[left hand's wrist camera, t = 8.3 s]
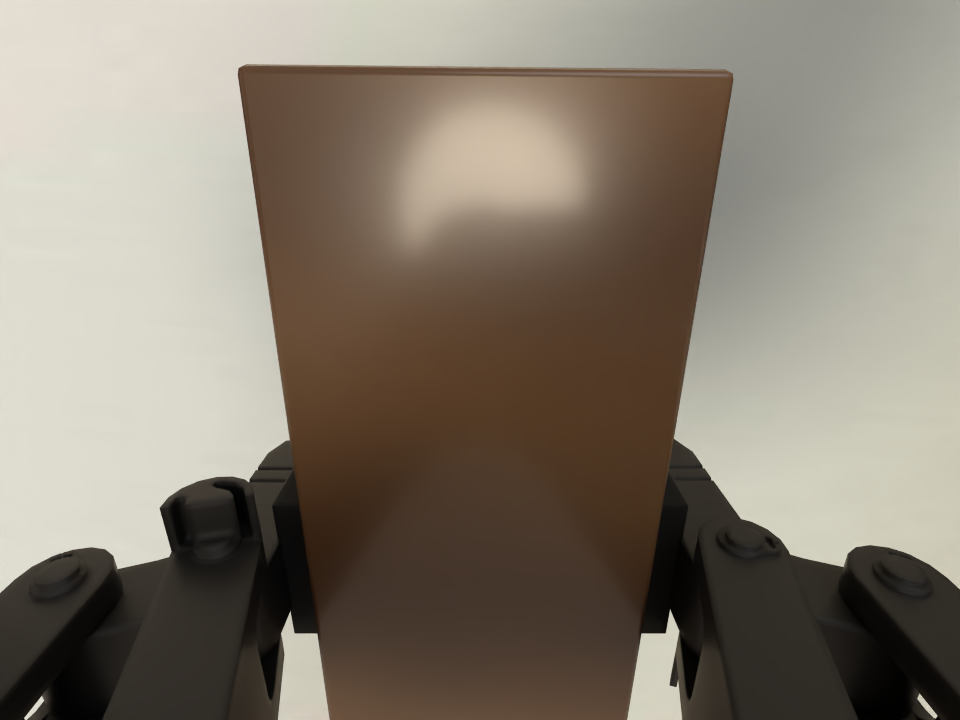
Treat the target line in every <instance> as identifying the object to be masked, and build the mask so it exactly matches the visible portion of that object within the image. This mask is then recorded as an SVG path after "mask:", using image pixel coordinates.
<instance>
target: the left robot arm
mask: <svg viewBox="0 0 960 720" xmlns="http://www.w3.org/2000/svg"><path fill="white" fill-rule="evenodd" d="M160 511H161V515H162V518H163V522H164V525H165V529H166V533H167V536H168V540H169V544H170V547H171V551H172V552H171V555H170V557H168V558H165V559H161V560H158V561H153V562H149V563H144V564H139V565H135V566H130V567H126V568H121V569H117V566H116V563H115V560H114V557H113V555H111V554H110V553H109V552H108V551H106V550H105V549H98V548H83V549H76V550H71V551H68V552H64V553H62V554H58V555H55V556H53V557H50V558H49V559H47V560H45V561H43V562H41V563H39V564H37V565H35V566H33V567H31V568H30V569H29V570H27V571H26V572H25V573H23V574H22V575H21V576H19V577H18V578H16V579H15V580H14V581H13V582H12V583H11V584H10V585H9V586H8V587H6V588H5V589H4V590H3V591H2V592H1V593H0V720H25V719H24V717H25V716H26V715H27V714H28V712H29V711H30V710H31V709H32V707H33V706H34V705H35V704H36V702H37V701H38V700H39V698H40V697H41V696H42V697H43V699H44V702H43V703H42V704H41V706H40V707H39V708H38V709H37V711H36V712H35V713H34V714H33V715H32V716H31V717H30V718H28V719H27V720H278V712H279V702H280V692H281V682H282V672H283V662H284V648H283V642H282V637H281V632H282V630H283V627H284V625H285V622H286V620H287V618H288V615H289V613H290V610H291V616H292V621H293V627H294V632H295V633H317V626H316V619H315V612H314V605H313V598H312V591H311V584H310V577H309V570H308V563H307V556H306V549H305V542H304V535H303V528H302V521H301V514H300V507H299V500H298V493H297V486H296V479H295V472H294V465H293V458H292V451H291V444H290V441H285V442H284V443H282V444H281V445H280V446H278V447H277V448H275V449H274V450H272V451H271V452H269V453H268V454H267V456H266V457H265V459H264V460H263V461H262V463H261V464H260V466H259V467H258V470H256V471H255V473H254V474H253V475H252V477H251V478H250V482H247V481H246V480H244V479H240V478H236V477H215V478H211V479H206V480H202V481H198V482H196V483H193V484H191V485H189V486H186V487H184V488H182V489H180V490H179V491H177V492H176V493H174V494H173V495H171V496H170V497H168V499H167V500H166V501H165V502H164V503H163V505H162V506H161V507H160ZM670 610H671V612H672V614H673V617H674V619H675V622H676V624H677V626H678V629H679V631H680V632H679V637H678V642H677V647H676V652H675V658H674V663H673V668H672V673H671V679H670V686H674V687H677V682H678V681H679V691H680V700H681V710H682V720H960V589H959V588H957V587H956V586H955V585H954V584H953V583H952V582H951V581H950V580H949V579H948V578H947V577H945V576H944V575H943V574H941V573H940V572H939V571H937V570H936V569H934V568H933V567H932V566H930V565H929V564H927V563H925V562H923V561H921V560H919V559H917V558H915V557H913V556H911V555H909V554H907V553H904V552H901V551H898V550H894V549H891V548H887V547H879V546H871V545H869V546H862V547H856V548H854V549H853V550H852V551H851V552H850V553H848V555H847V558H846V561H845V564H844V567H840V566H835V565H831V564H826V563H822V562H817V561H812V560H808V559H803V558H800V557H796V556H793V555H790V554H789V551H788V550H787V548H786V547H785V545H784V544H783V543H782V541H781V540H780V539H779V538H778V537H776V536H775V535H774V534H773V533H771V532H770V531H769V530H767V529H765V528H763V527H761V526H759V525H757V524H755V523H753V522H750V521H746V520H742V519H740V517H739V516H738V514H737V513H736V512H735V510H734V509H733V508H732V506H731V505H730V503H729V502H728V501H727V499H726V498H725V496H724V495H723V494H722V492H721V491H720V489H719V488H718V487H717V485H716V484H715V483H714V481H711V477H710V476H709V474H708V473H707V471H706V470H705V469H703V468H702V464H701V463H700V462H699V460H698V459H697V457H696V456H695V455H694V453H693V452H692V451H691V450H689V449H688V448H686V447H685V446H683V445H682V444H680V443H679V442H677V441H676V440H675V439H674V440H673V446H672V452H671V458H670V464H669V470H668V476H667V482H666V488H665V494H664V500H663V506H662V512H661V518H660V524H659V530H658V536H657V542H656V548H655V554H654V560H653V566H652V572H651V578H650V584H649V590H648V596H647V602H646V608H645V614H644V620H643V626H642V632H641V633H666V629H667V623H668V617H669V612H670ZM919 693H920V694H921V695H922V697H923V698H924V699H925V700H926V702H927V703H928V704H929V705H930V707H931V708H932V709H933V710H934V712H935V713H936V714H937V715H938V716H937V718H936V719H935V718H933V717H932V716H931V715H930V714H929V713H928V712H927V711H926V710H925V708H924V707H923V706H922V705H921V703H920V702H919V701H918V700H917V698H918V695H919Z"/></svg>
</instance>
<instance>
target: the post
mask: <svg viewBox="0 0 960 720" xmlns="http://www.w3.org/2000/svg"><path fill="white" fill-rule="evenodd" d="M238 79H239V86H240V93H241V100H242V107H243V114H244V121H245V128H246V135H247V142H248V149H249V156H250V163H251V170H252V177H253V184H254V191H255V198H256V205H257V212H258V219H259V226H260V233H261V240H262V247H263V254H264V261H265V268H266V275H267V282H268V289H269V296H270V303H271V310H272V317H273V324H274V331H275V338H276V346H277V353H278V360H279V367H280V374H281V381H282V388H283V395H284V402H285V409H286V416H287V423H288V430H289V437H290V444H291V451H292V458H293V465H294V472H295V479H296V486H297V493H298V500H299V507H300V514H301V521H302V528H303V535H304V542H305V549H306V556H307V563H308V570H309V577H310V584H311V591H312V598H313V605H314V612H315V619H316V626H317V633H318V640H319V647H320V655H321V662H322V669H323V676H324V683H325V690H326V697H327V704H328V711H329V718H330V720H627V717H628V711H629V705H630V699H631V693H632V687H633V681H634V674H635V668H636V662H637V656H638V650H639V644H640V638H641V632H642V626H643V620H644V614H645V608H646V602H647V596H648V590H649V584H650V578H651V572H652V566H653V560H654V554H655V548H656V542H657V536H658V530H659V524H660V518H661V512H662V506H663V500H664V494H665V488H666V482H667V476H668V470H669V464H670V458H671V452H672V446H673V440H674V434H675V428H676V422H677V416H678V409H679V403H680V397H681V391H682V385H683V379H684V373H685V367H686V361H687V355H688V349H689V343H690V337H691V331H692V325H693V319H694V313H695V307H696V301H697V295H698V289H699V283H700V277H701V271H702V265H703V259H704V253H705V247H706V241H707V235H708V229H709V223H710V217H711V211H712V205H713V199H714V193H715V187H716V181H717V175H718V169H719V163H720V157H721V150H722V144H723V138H724V132H725V126H726V120H727V114H728V108H729V102H730V96H731V90H732V84H733V74H732V73H731V72H729V71H727V70H718V69H626V68H534V67H442V66H350V65H257V64H246V65H244V66H242V67H240V68H239V70H238Z"/></svg>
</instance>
